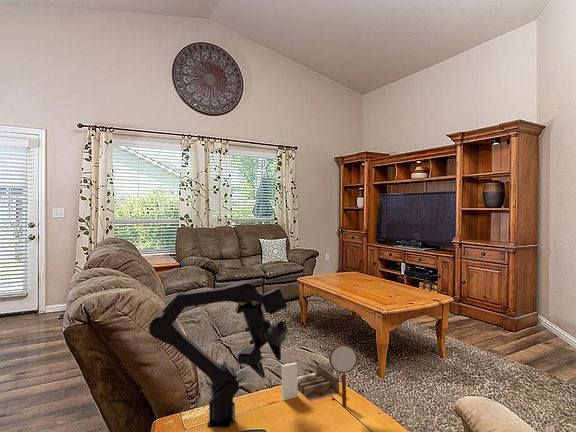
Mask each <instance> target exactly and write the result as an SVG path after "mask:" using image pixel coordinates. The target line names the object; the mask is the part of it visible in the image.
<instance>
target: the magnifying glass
mask: <svg viewBox="0 0 576 432" xmlns="http://www.w3.org/2000/svg"><path fill="white" fill-rule="evenodd" d="M357 362H358V354H357V352H356V350H355V349H354V348H353V347H352V346H350V344H345V343H342V344H338V345H336V346H335V347H333V349H332V350H331V351H330V354H329V364H330V367H332V369H333V370H334V371H335V372H337V373H340V374H341V394H342V395H341V398H342V399H341V403H342V404H341V405H342V407H343V408H346V407H347V380H346V376H347V375H346V374H347V373H350V372H351V371H353V370H354V368H355V367H356V365H357Z"/></svg>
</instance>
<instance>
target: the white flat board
mask: <svg viewBox="0 0 576 432" xmlns="http://www.w3.org/2000/svg"><path fill="white" fill-rule="evenodd" d="M280 367H281V371H280V372H281V399H282V401H286V400H290V399H294V398H298V390H297V377H298V363H297V362H291V363H286V364H282V365H281V366H280Z"/></svg>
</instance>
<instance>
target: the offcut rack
mask: <svg viewBox="0 0 576 432" xmlns="http://www.w3.org/2000/svg"><path fill="white" fill-rule="evenodd" d="M315 369H316V371H315V372H312V373H308V374H304V375H299V376H298V375H297V392H299V393H300V394H302V395H303V396H304V397H305V399H307V400H308V401H309V402H313V401H316V400H319V399H323V398H327V397H331V396H334V395H338V394H340V377H339V376H337V375H336V374H334V372H332V371H330V370H328V369H327V368H326V367H324V366H322V365H321V364H319V363H317V364H316V366H315Z"/></svg>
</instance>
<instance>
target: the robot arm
mask: <svg viewBox="0 0 576 432" xmlns="http://www.w3.org/2000/svg"><path fill="white" fill-rule="evenodd" d="M223 302H230V303H231V302H232V303H237V305H236V307H235V309H234V311H235V312H236V313H235V314H241V313H242V314H243V317H244V320H245V323H246V327H244V329H245V332H249V334H250V338H251V339H250V340H249V344H250V345H253V346H252V347H244V348H243V349H242V350H241V351H240V352H239V353H238V354H237V356H236V359H237V361H238V363H239V365H247V366H248V367H250V368H251V369H252V370H253V371H254V372H255V373H256V374H257V375H258V376H259V377H260V378H261V379H265V378H266V375H265V370H264V367H263V363H262V361H263V359H264V357H263V356H262V351H261V349H263V348H264V346H266V345H267V344H268V346H269V347H270V349H271V351H272V354H273V355H274V357H275V358H276V360H277V361H282V351H281V350H282V349H281V348H282V343H283V342H284V341H286V340H287V334H288V332H289V329H288V326H287V324H286V321H283V320H280V321H278V323H275V324H271V322H270V320H269V319H266V318H265V315H264V313H265V314H269V316H271V315H274V314H276V313H278V312H280V311H283V310H285V309H288V304H287V301H286V299H285V297H284V296H283V293H282V292H281V290H280V288H279V287H275V288H273V289H272V290H270V291H267V292H264V293H262V292H261V291H258V290H257V289H256V286H255V285H254V284H253V283H252V282H250V281H249V280H245V279H243V280H240V281H236V282H233V283H231V284H229V285H226V286H221V287H216V288H209V289H208V288H207V289H201V290H199V289H198V290H194V291H193V290H192V291H184V292H183V291H180V292H178V293H176V294H175V296H174V298H173V299H172V300H171V301H170V302H169V303H168V304H167V305H166V306H165V308H164V309H163V310H161V311H160V312H157V313H156V314H154V315H153V317H152V318H151V321H150V324H149V326H148V327H149V328H148V331H149V333H150V335H151V337H153V338H155V339H156V340H157V341H160V342H162V343H164V344H167V345H170V346H172V347H173V348H175V349H176V351H178V352H179V353H180V354H182V355H183V356H184V358H186V359H187V360H188V361H190V363H192V364H193V365H194V366H196V368H198V369H199V370H200V371H201V372H202V373H204V374H205V375H206V376H207V377H208V378H209V379H210V382H211V383H212V384H211V386H210V387H209V389H210V394H211V397H210V399H209V401H208V407H209V420H208V422H207V426H208V427H221V428H223V427H225V428H228V427H230V426H231V424H232V422H233V421H234V419H235V417H236V404H235V403H236V402H235V401H234V396H235V395H237V393H238V392H239V390H240V384H239V381H238V380H239V379H238V376H237V372H236V369H235V368H234V367H232V366H231V365H229V363H228V362H227V361H226V360H224V362H223V363H222V364H221V363H219V362H216V361H215V359H214V358H212V357H211V356H210V355H209V354H208V353H206V351H204V350H203V349H202V348H201V347H200V346H199V345H197V344H196V343H195V342H194V341H193V340H192V339H190V338H189V337H188V336H187V335H186V334H185V333H184V332H183V331H182V329H181V328H180V327H179V325H178V323H177V322H176V320H177V319H178V317H179V316H180V314H182V312H183V310H184V309H185V308H188V307H195V306H202V305H208V304H209V305H210V304H216V303H223Z"/></svg>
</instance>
